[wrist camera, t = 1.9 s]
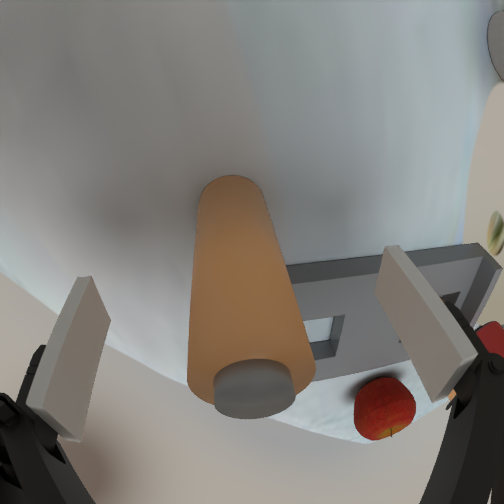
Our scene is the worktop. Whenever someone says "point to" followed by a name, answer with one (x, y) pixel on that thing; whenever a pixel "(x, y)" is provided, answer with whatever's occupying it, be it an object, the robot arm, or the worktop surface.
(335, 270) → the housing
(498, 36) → the coffee cup
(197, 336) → the peg
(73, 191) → the worktop surface
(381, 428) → the apple
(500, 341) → the beer can
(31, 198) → the worktop surface
